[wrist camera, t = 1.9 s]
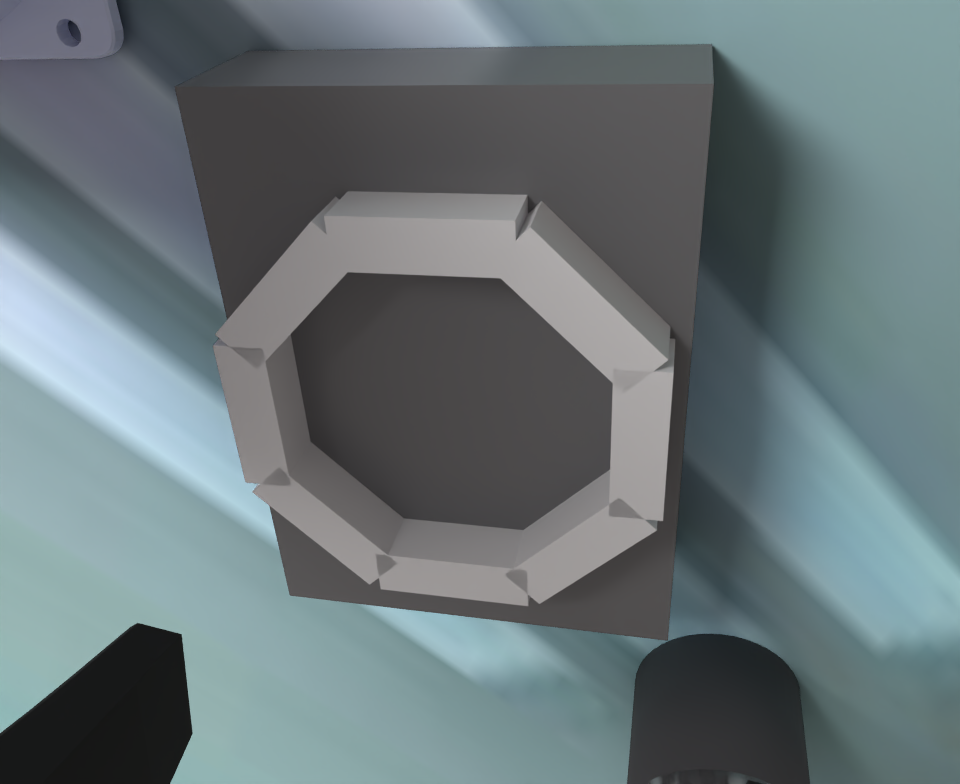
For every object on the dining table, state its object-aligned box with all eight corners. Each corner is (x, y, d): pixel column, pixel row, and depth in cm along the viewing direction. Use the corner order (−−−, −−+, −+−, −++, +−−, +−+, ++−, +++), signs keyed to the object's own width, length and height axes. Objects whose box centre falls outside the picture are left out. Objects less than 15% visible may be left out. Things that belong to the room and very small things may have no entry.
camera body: (332, 516, 24) (269, 632, 21) (248, 50, 18) (137, 104, 14) (671, 550, 22) (666, 683, 19) (711, 44, 16) (714, 104, 12)
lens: (632, 730, 26) (619, 900, 22) (638, 625, 24) (625, 791, 20) (788, 753, 25) (805, 933, 21) (810, 645, 23) (834, 823, 19)
